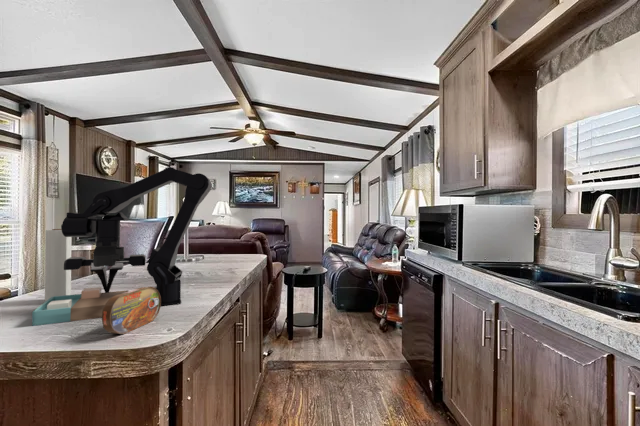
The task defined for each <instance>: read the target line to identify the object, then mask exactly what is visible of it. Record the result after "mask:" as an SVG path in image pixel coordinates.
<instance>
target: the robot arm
mask: <svg viewBox="0 0 640 426" xmlns="http://www.w3.org/2000/svg"><path fill="white" fill-rule="evenodd" d="M172 183H176V184H179V185H180V186H181V185H182V186H185V192H184V200H183V202H182V205H181V207H180V208H179V211H178V213H177V215H176V217H175V220H174V222H173V224H172V226H171V228H170V230H169V232H168V234H167V235H166V238H165V240H164V242H163V244H162V245H161V247H156V248H153V249H152V251H151V254H150V256H149V258H148V260H147V261H146V255H145V254H143V253H141V254H140V253H137V254H130V256H129V257H125V247H124V246H121V222H124V221H125V222H127V221H129V217H127V216H126V215H125V214H124V213H123V212H120V211H122V210H123V209H125V208H126V207H128V206H129V205H130V204H131V203H132V202H133V201H134V200H136V199H139V198H140V197H143V196H145V195H147V194H150V193H152V192H153V191H156V190H158V189H160V188H163V187H165V186H167V185H169V184H172ZM212 187H213V185H212V181H211V180H210V178H209V177H207V175H205V174H203V173H198V172H197V173H195V174H193V173H189V172H187V171H186V172H185V171H183V170H179V169H176V168H174V167H172V166H167V167H165V168H164V169H162V170H160V171H158V172H155V173H154V174H153V173H152V174H151V175H149V176H146V177H144V178H142V179H140V180H138V181H136V182H132V183H129V184H128V185H126V186H123V187H117V188H112V189H108V190H105V191H101V192H98V193H96V194H95V195H94V196H93V199H92V203H91V204H90V205H89V206H88V207H87V208H86V210H85V211H84V212H81V213H80V212H66V217H65V218H63V221H62V224H61V226H60V227H61V228H60V229H61V230H62V233H63V235H64V236H65V237H72V238H91V237H92V236H93V235H94V234H95V248H94V250H93V254H92V258H89V259H87V257H86V256H71V257H70V258H68V259H67V260H65V261H64V270H71V271H73V270H75V271H76V270H79V269H80V268H82V267H91V268H90V272H92V273H93V272H94V273H95V274H96V276H97V277H98V278H99V280H100V282H101V285H102V288H103V291H104V293H109V292H111V291H110V290H111V288H112V285H113V283H114V280H115V277H116V275H117V273H118V271H122V270H123V269H124V265H128V264H129V265H131V266H132V267H144V266H146V264H147V267H146V271H147V273H148V274H149V276H150V277H152V278H153V280H154V283H155V285H156V286H153V287H154V288H156V289H157V290H158V292H159V293H160V297H161V306H167V305H177V304H178V305H179V304H182V299H181V298H182V297H181V295H182V294H181V292H182V290H181V289H182V288H181V278H182V274H183V271H182V270H181V269H180V268H179V267H178V266H177V265H176V262H177V259H178V253H179V252H178V250H179V247H180V245H181V243H182V241H183V238H184V237H185V234H186V232H187V230H188V228H189V225H190V224H191V222H192V219H193V217H194V215H195V213H196V211H197V209H198V207H199V206H200V204H201V203H202V202H203V201H204V199H206V197H208V196H207V195H208V194H209V193H210V191H211V190H212ZM115 213H116V214H115ZM97 217H102V218H97ZM107 267H110V268H109V270H108V271H109V272H108V273H109V274H108V275H107ZM161 306H160V307H161Z"/></svg>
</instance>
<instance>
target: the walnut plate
mask: <svg viewBox="0 0 640 426" xmlns="http://www.w3.org/2000/svg"><path fill="white" fill-rule="evenodd" d="M128 291H129V290H128V289H127V290H117V291H116V290H115V291H109V293H105V292H101V296H100V297H97V298H87V299H81V298H80V299H79V300H78V301H77V302H76V303H75V304H74V305H73V307H72V308H71V317H70V321H69V322H75V321H85V320H92V319H100V318H101V319H102V311H103V308H104V306H105V304H106V303H107V301H108V300H109V299H110V298H112V297H113V296H115V295H119V294H122V293H125V292H128Z"/></svg>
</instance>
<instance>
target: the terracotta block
mask: <svg viewBox="0 0 640 426" xmlns="http://www.w3.org/2000/svg"><path fill="white" fill-rule="evenodd" d="M101 293H102V286H101V287H100V286H99V287H87V288H86V287H85V288H83V289H82V290H81V292H80V294H81V299H87V298H97V297H100V296H101Z"/></svg>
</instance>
